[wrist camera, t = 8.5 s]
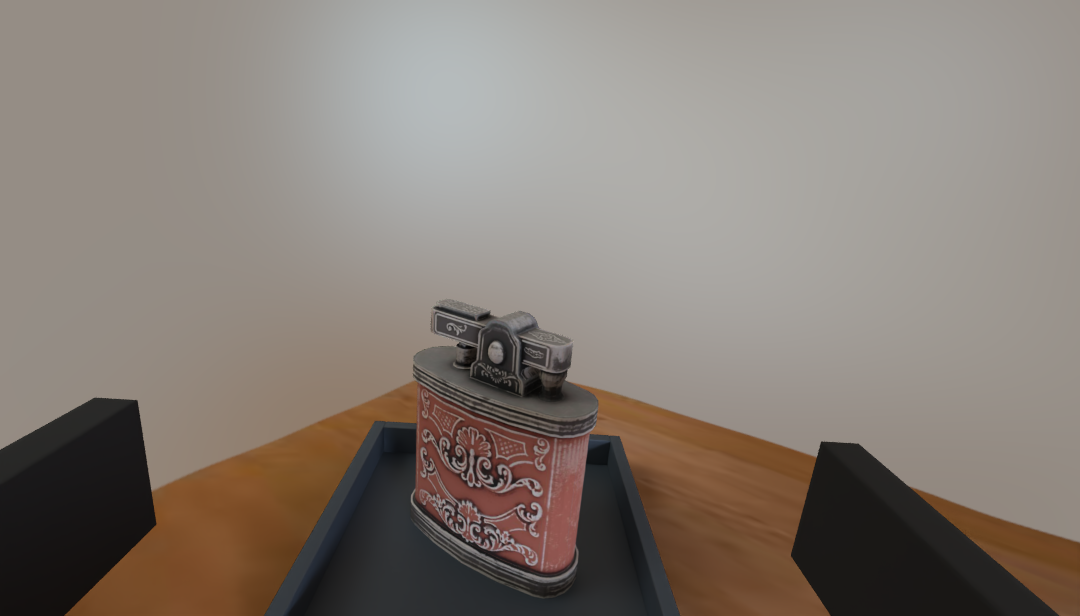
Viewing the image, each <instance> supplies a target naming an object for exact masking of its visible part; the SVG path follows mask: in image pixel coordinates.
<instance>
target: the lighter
mask: <svg viewBox="0 0 1080 616" xmlns="http://www.w3.org/2000/svg"><path fill="white" fill-rule="evenodd" d="M431 332H432V333H434V334H437V335H440V336H443V337H446V338H449V339H452V340H455V341H458V342H459V344H457V347H454V346H440V347H432V348H428V349H424V350H422V351H420V352H418V353H417V354H416V355H415V356H414V358H413V359H414V360H413V378H414V379H415V380H416V381H417V382H418V392H417V440H416V488H415V489H414V491H413V493H412V495H411V520H412V522H413V523H414V524H415V525H416V526H417V527H418V528H419V529H420V530H421V531H422V532H423V533H424V534H425V535H426V536H427V537H428V538H429V539H431V540H432V541H433V542H434V543H435V544H436V545H438V546H439V547H440V548H442V549H443V550H444V551H446V552H447V553H449V554H450V555H451V556H453V557H454V558H456V559H457V560H458V561H460V562H461V563H463V564H464V565H466V566H468V567H470V568H472V569H474V570H476V571H478V572H479V573H481V574H483V575H485V576H487V577H489V578H491V579H493V580H495V581H496V582H499V583H501V584H504V585H506V586H509V587H511V588H514V589H516V590H519V591H521V592H524V593H526V594H529V595H531V596H534V597H539V598H553V597H556V596H559V595H561V594H563V593H565V592H566V591H567V590H568V589H569V588H570V587H571V586H572V584H573V582H574V580H575V578H576V572H577V564H578V549H577V547H576V544H575V543H576V536H577V528H578V520H579V512H580V504H581V497H582V489H583V481H584V473H585V465H586V458H587V450H588V442H589V434H590V431H592V429H593V428H594V427H595V425H596V419H597V412H598V399H597V398H596V397H595V395H593V394H592V393H590V392H589V391H587V390H585V389H582V388H580V387H578V386H576V385H574V384H572V383H569V382H567V381H565V378H566V377H567V369H569V368H570V365H571V356H572V347H573V340H572V339H571V338H569V337H566V336H563V335H559V334H556V333H552V332H549V331H545V330H542V329H540V328H539V327H538V325H537V321H536V320H535V319H534V317H533V316H532V315H530V314H529V313H525V312H522V311H518V312H515V313H512V314H509V315H506V316H503V317H497V316H494V315H490V310H487V309H483V308H480V307H476V306H473V305H469V304H466V303H462V302H459V301H455V300H451V299H445V300H441V301H438V302H437V303H436V305H435V306H433V307H432V308H431Z"/></svg>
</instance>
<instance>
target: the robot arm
mask: <svg viewBox="0 0 1080 616" xmlns="http://www.w3.org/2000/svg"><path fill="white" fill-rule="evenodd" d="M155 525H156V518H155V512H154V505H153V499H152V492H151V486H150V479H149V473H148V467H147V460H146V454H145V446H144V440H143V433H142V427H141V421H140V414H139V407H138V401H137V400H124V399H108V398H107V399H106V398H93V399H92V400H90V401H88V402H86V403H84V404H82V405H81V406H79V407H77V408H75V409H73V410H72V411H70V412H68V413H66V414H64V415H62V416H61V417H59V418H57V419H55V420H54V421H52V422H50V423H48V424H46V425H45V426H43V427H41V428H39V429H37V430H35V431H34V432H32V433H30V434H28V435H26V436H24V437H23V438H21V439H19V440H17V441H15V442H14V443H12V444H10V445H8V446H6V447H5V448H3V449H1V450H0V616H64V615H65V614H66V613H67V612H68V611H69V610H70V609H71V608H72V607H73V606H74V605H75V604H76V603H77V602H78V601H79V600H80V599H81V598H83V597H84V596H85V595H86V594H87V593H88V592H89V591H90V590H91V589H92V588H93V587H94V586H95V585H96V584H97V583H98V582H99V581H100V580H101V579H102V578H103V577H104V576H105V575H106V574H107V573H108V572H109V571H110V570H111V569H112V568H113V567H114V566H115V565H116V564H117V563H118V562H119V561H120V560H121V559H122V558H123V557H124V556H125V555H126V554H127V553H128V552H129V551H130V550H131V549H132V548H133V547H134V546H135V545H136V544H137V543H138V542H139V541H140V540H141V539H142V538H143V537H144V536H145V535H146V534H147V533H148V532H149V531H150V530H151V529H152V528H153V527H154V526H155ZM791 557H792V558H793V560H794V561H795V563H796V564H797V566H798V567H799V569H800V570H801V572H802V573H803V575H804V576H805V578H806V579H807V581H808V582H809V584H810V585H811V587H812V588H813V590H814V591H815V593H816V594H817V596H818V597H819V599H820V600H821V602H822V603H823V605H824V606H825V608H826V609H827V611H828V612H829V614H830V615H831V616H1059V615H1058V614H1057V613H1056V612H1055V611H1053V610H1052V609H1051V608H1050V607H1049V606H1048V605H1046V604H1045V603H1044V602H1043V601H1042V600H1041V599H1039V598H1038V597H1037V596H1036V595H1035V594H1034V593H1032V592H1031V591H1030V590H1029V589H1028V588H1027V587H1025V586H1024V585H1023V584H1022V583H1021V582H1020V581H1018V580H1017V579H1016V578H1015V577H1014V576H1012V575H1011V574H1010V573H1009V572H1008V571H1007V570H1005V569H1004V568H1003V567H1002V566H1001V565H1000V564H998V563H997V562H996V561H995V560H994V559H993V558H991V557H990V556H989V555H988V554H987V553H986V552H984V551H983V550H982V549H981V548H980V547H979V546H977V545H976V544H975V543H974V542H973V541H972V540H970V539H969V538H968V537H967V536H966V535H965V534H963V533H962V532H961V531H960V530H959V529H958V528H956V527H955V526H954V525H953V524H952V523H951V522H949V521H948V520H947V519H946V518H945V517H944V516H942V515H941V514H940V513H939V512H938V511H936V510H935V509H934V508H933V507H932V506H931V505H929V504H928V503H927V502H926V501H925V500H924V499H922V498H921V497H920V496H919V495H918V494H917V493H915V492H914V491H913V490H912V489H911V488H910V487H908V486H907V485H906V484H905V483H904V482H903V481H901V480H900V479H899V478H898V477H897V476H895V475H894V474H893V473H892V472H891V471H890V470H889V469H887V468H886V467H885V466H884V465H883V464H882V463H880V462H879V461H878V460H877V459H876V458H874V457H873V456H872V455H871V454H870V453H868V452H867V451H866V450H865V449H864V448H863V447H862V446H860V445H859V444H854V443H837V442H821V444H820V449H819V452H818V456H817V459H816V463H815V467H814V470H813V474H812V478H811V482H810V485H809V489H808V493H807V497H806V500H805V504H804V508H803V512H802V515H801V519H800V523H799V527H798V531H797V534H796V538H795V542H794V546H793V549H792V553H791Z"/></svg>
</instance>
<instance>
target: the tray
mask: <svg viewBox="0 0 1080 616" xmlns="http://www.w3.org/2000/svg"><path fill="white" fill-rule="evenodd" d="M416 440H417V423H401V422H385V421H375V422H374V424H373V426H372V428H371V429H370V431H369V433H368V435H367V436H366V438H365V440H364V442H363V443H362V445H361V447H360V449H359V450H358V452H357V454H356V456H355V457H354V459H353V461H352V463H351V464H350V466H349V468H348V470H347V471H346V473H345V475H344V477H343V478H342V480H341V482H340V484H339V485H338V487H337V489H336V491H335V492H334V494H333V496H332V498H331V499H330V501H329V503H328V505H327V506H326V508H325V510H324V512H323V513H322V515H321V517H320V519H319V520H318V522H317V524H316V526H315V527H314V529H313V531H312V533H311V534H310V536H309V538H308V540H307V541H306V543H305V545H304V547H303V548H302V550H301V552H300V554H299V555H298V557H297V559H296V561H295V562H294V564H293V566H292V568H291V569H290V571H289V573H288V575H287V576H286V578H285V580H284V582H283V583H282V585H281V587H280V589H279V590H278V592H277V594H276V596H275V597H274V599H273V601H272V603H271V604H270V606H269V608H268V610H267V611H266V613H265V615H264V616H680V614H679V611H678V608H677V605H676V602H675V599H674V597H673V594H672V591H671V588H670V585H669V582H668V579H667V576H666V573H665V570H664V567H663V564H662V561H661V558H660V555H659V552H658V549H657V546H656V543H655V540H654V537H653V534H652V531H651V528H650V525H649V522H648V519H647V516H646V514H645V511H644V508H643V505H642V502H641V499H640V496H639V493H638V490H637V487H636V484H635V481H634V478H633V475H632V472H631V469H630V466H629V463H628V460H627V457H626V454H625V451H624V448H623V445H622V442H621V439H620V437H619V436H608V435H594V434H589V442H588V450H587V458H586V465H585V473H584V481H583V489H582V497H581V504H580V512H579V520H578V528H577V536H576V543H575V544H576V547H577V549H578V564H577V572H576V578H575V580H574V582H573V584H572V586H571V587H570V588H569V589H568V590H567V591H566V592H565V593H563V594H561V595H559V596H556V597H553V598H539V597H534V596H531V595H529V594H526V593H524V592H521V591H519V590H516V589H514V588H511V587H509V586H506V585H504V584H501V583H499V582H496V581H495V580H493V579H491V578H489V577H487V576H485V575H483V574H481V573H479V572H478V571H476V570H474V569H472V568H470V567H468V566H466V565H464V564H463V563H461V562H460V561H458V560H457V559H456V558H454V557H453V556H451V555H450V554H449V553H447V552H446V551H444V550H443V549H442V548H440V547H439V546H438V545H436V544H435V543H434V542H433V541H432V540H431V539H429V538H428V537H427V536H426V535H425V534H424V533H423V532H422V531H421V530H420V529H419V528H418V527H417V526H416V525H415V524H414V523H413V522H412V520H411V495H412V493H413V491H414V489H415V488H416Z"/></svg>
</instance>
